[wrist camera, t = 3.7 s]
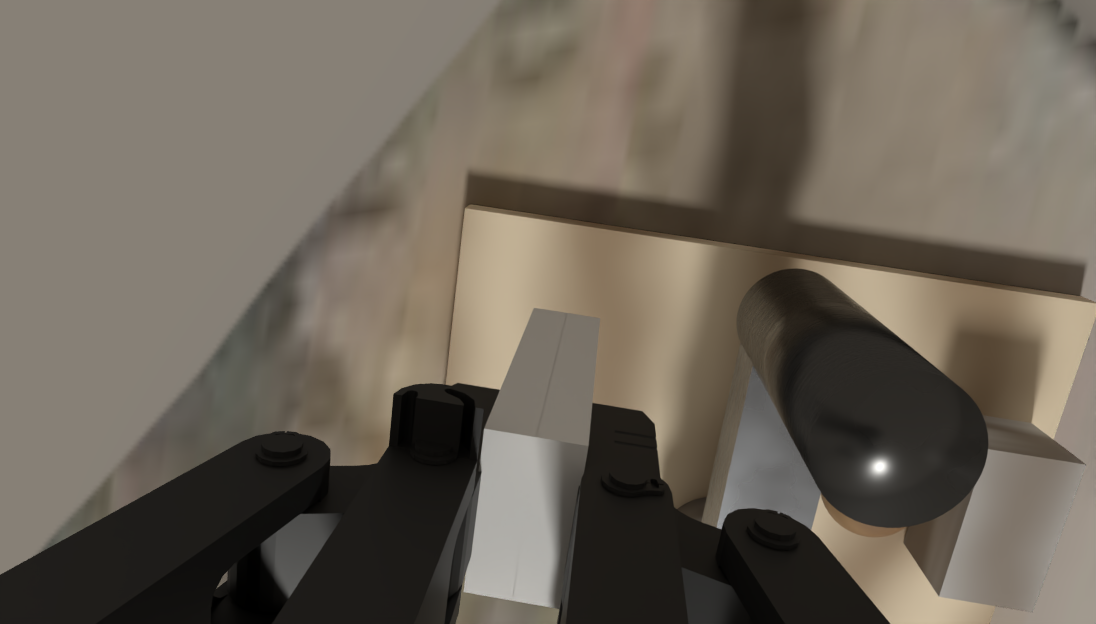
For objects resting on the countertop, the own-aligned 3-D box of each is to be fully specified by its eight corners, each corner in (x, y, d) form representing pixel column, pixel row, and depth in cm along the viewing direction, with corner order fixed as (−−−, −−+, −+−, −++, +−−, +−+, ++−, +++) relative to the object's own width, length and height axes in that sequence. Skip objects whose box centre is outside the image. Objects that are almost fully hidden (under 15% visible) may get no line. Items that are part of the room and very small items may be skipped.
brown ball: (800, 499, 32) (823, 547, 28) (821, 418, 31) (847, 459, 27) (888, 513, 31) (923, 564, 28) (912, 433, 30) (950, 475, 27)
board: (431, 552, 35) (404, 620, 30) (470, 204, 31) (445, 221, 26) (963, 642, 34) (1018, 727, 29) (1081, 296, 30) (1167, 331, 25)
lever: (662, 582, 33) (694, 899, 20) (732, 242, 29) (832, 356, 16) (758, 599, 32) (855, 929, 20) (843, 258, 28) (1036, 388, 16)
